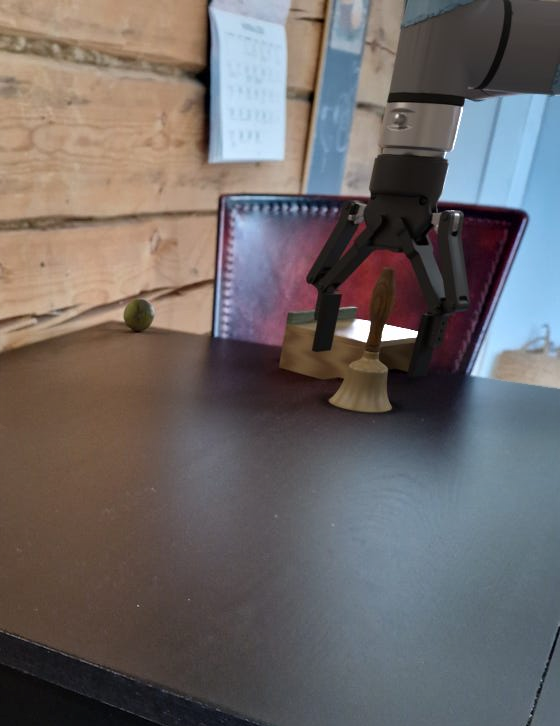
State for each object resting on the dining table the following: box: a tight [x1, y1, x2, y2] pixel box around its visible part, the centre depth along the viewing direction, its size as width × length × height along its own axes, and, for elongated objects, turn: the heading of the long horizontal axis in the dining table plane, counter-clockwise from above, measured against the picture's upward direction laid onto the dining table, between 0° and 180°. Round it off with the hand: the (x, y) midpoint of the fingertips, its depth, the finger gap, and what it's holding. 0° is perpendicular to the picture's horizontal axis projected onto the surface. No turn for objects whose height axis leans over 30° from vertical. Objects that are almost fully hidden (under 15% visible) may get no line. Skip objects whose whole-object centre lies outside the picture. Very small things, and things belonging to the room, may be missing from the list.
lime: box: [122, 298, 155, 332], centre depth 139 cm, size 4×5×5 cm
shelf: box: [278, 306, 418, 381], centre depth 119 cm, size 14×14×8 cm
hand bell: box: [328, 266, 397, 413], centre depth 99 cm, size 8×8×16 cm
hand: (366, 363), depth 100 cm, fingers open, 13 cm apart
